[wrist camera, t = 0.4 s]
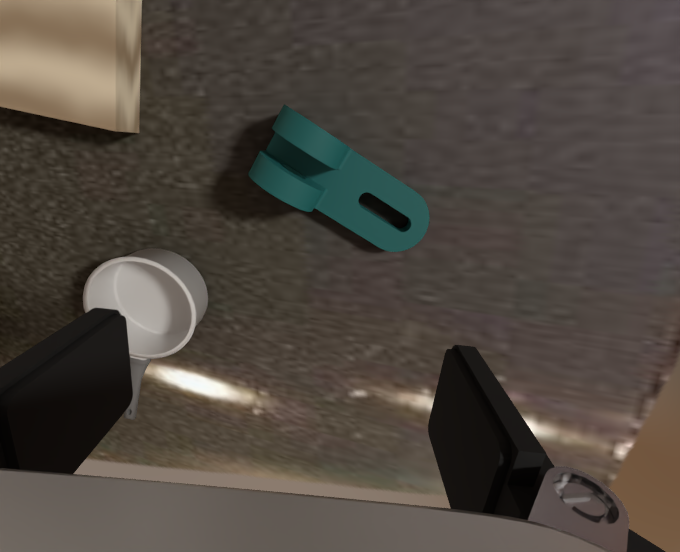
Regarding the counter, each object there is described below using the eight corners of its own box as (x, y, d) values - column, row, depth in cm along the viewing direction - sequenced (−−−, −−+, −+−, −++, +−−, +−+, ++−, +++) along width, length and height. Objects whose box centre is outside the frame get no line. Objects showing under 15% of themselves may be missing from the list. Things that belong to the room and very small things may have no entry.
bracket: (259, 169, 38) (239, 175, 31) (291, 109, 36) (278, 99, 29) (401, 257, 41) (413, 281, 34) (437, 206, 39) (459, 219, 32)
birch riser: (-23, -74, 31) (-73, -104, 27) (142, -34, 32) (115, -58, 28) (-5, 102, 36) (-46, 96, 32) (139, 133, 37) (115, 131, 33)
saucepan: (107, 378, 47) (77, 407, 41) (118, 230, 40) (84, 243, 35) (196, 398, 48) (178, 430, 42) (221, 257, 41) (203, 273, 36)
